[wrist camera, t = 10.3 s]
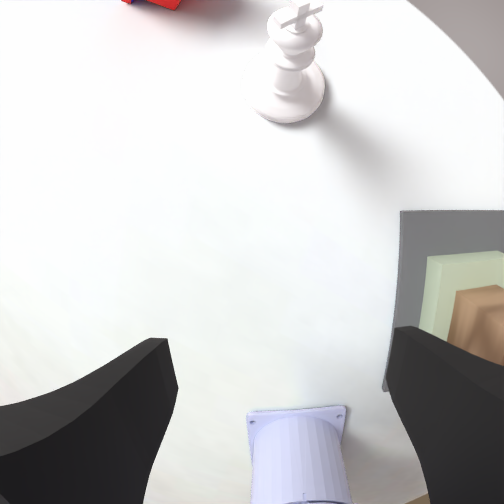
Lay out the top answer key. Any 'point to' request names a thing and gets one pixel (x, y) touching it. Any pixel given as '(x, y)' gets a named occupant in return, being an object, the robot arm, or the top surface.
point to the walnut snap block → (479, 322)
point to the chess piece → (287, 66)
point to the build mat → (437, 252)
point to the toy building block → (161, 3)
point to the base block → (455, 285)
